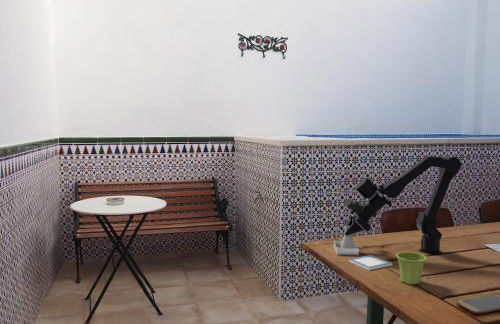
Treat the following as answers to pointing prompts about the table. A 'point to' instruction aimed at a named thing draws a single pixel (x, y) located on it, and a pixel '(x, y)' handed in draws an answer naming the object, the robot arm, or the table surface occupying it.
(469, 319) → the table surface
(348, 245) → the flask
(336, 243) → the grey u-shaped bracket
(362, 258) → the white tile
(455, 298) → the table surface
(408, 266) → the plant pot
